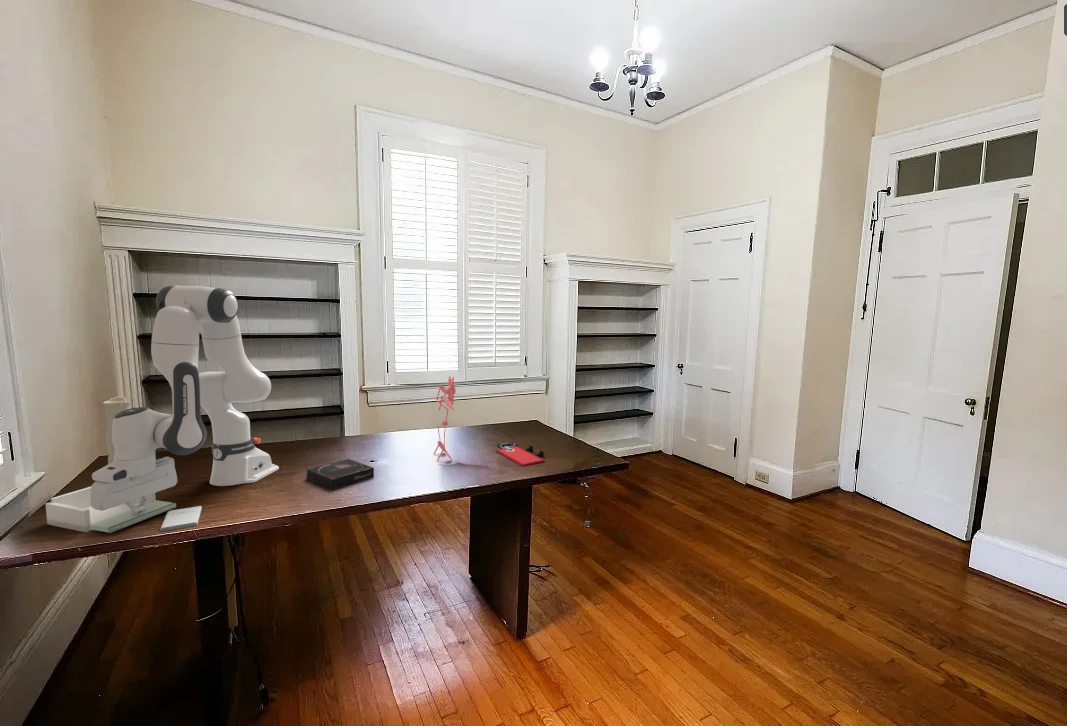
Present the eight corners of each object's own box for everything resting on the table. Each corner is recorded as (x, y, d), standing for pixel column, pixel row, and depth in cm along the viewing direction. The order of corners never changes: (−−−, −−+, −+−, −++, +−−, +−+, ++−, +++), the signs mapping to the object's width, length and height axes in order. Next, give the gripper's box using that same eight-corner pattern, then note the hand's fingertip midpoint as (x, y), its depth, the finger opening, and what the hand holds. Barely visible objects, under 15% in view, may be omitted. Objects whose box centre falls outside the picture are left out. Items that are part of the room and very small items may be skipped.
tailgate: (156, 500, 139) (175, 503, 137) (157, 504, 140) (176, 507, 138) (89, 524, 123) (109, 528, 121) (90, 529, 123) (110, 532, 121)
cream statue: (116, 480, 159) (110, 396, 156) (146, 477, 163) (141, 395, 160) (104, 489, 152) (97, 400, 148) (136, 486, 155) (130, 399, 152)
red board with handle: (515, 443, 220) (487, 448, 212) (515, 437, 220) (487, 442, 211) (551, 461, 195) (522, 468, 187) (551, 455, 195) (522, 461, 187)
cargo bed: (120, 499, 144) (119, 478, 143) (156, 506, 140) (154, 484, 140) (47, 524, 127) (45, 500, 126) (85, 532, 123) (83, 507, 122)
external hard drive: (160, 533, 125) (167, 515, 135) (197, 527, 129) (201, 510, 140) (160, 528, 125) (167, 510, 135) (197, 521, 129) (201, 505, 139)
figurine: (438, 467, 182) (441, 380, 179) (428, 449, 206) (430, 372, 203) (475, 464, 188) (479, 380, 185) (462, 447, 212) (464, 372, 208)
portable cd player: (347, 468, 180) (347, 458, 180) (373, 478, 170) (373, 467, 170) (306, 479, 167) (306, 469, 166) (332, 491, 157) (332, 479, 157)
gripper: (165, 453, 139) (168, 497, 141) (84, 476, 120) (88, 526, 121) (181, 455, 138) (183, 499, 139) (101, 479, 118) (105, 530, 120)
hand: (138, 512), depth 130 cm, fingers closed
